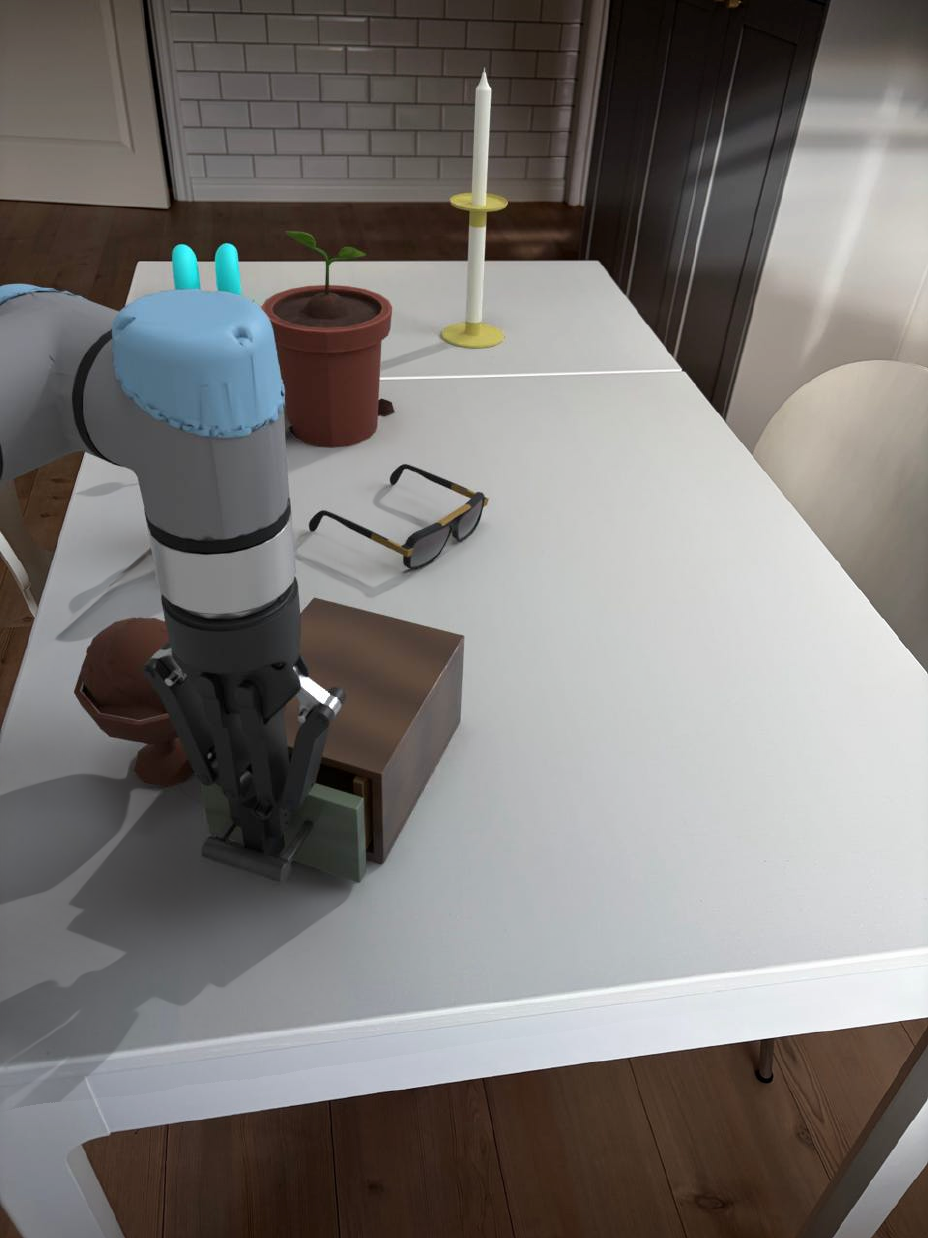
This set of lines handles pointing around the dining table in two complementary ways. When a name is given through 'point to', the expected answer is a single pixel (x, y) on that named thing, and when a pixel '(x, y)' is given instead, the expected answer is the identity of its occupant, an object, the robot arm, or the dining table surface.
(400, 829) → the cabinet
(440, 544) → the sunglasses
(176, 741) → the ice cream bowl
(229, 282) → the donuts
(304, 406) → the potted plant
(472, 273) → the candle
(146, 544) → the dining table surface
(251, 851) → the drawer
